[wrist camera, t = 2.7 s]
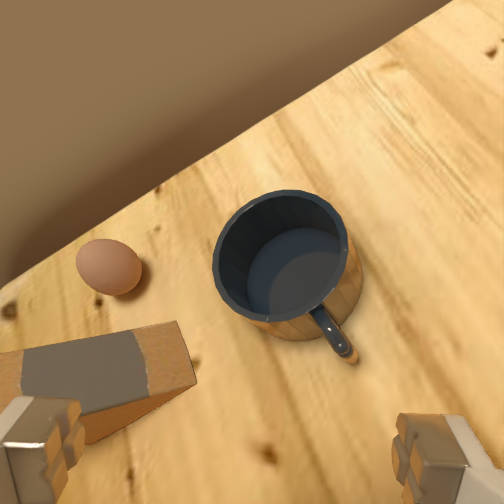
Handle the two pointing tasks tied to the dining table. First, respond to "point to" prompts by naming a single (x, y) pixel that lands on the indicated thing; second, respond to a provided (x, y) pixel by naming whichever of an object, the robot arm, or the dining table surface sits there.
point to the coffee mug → (290, 268)
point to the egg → (109, 266)
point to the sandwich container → (103, 375)
